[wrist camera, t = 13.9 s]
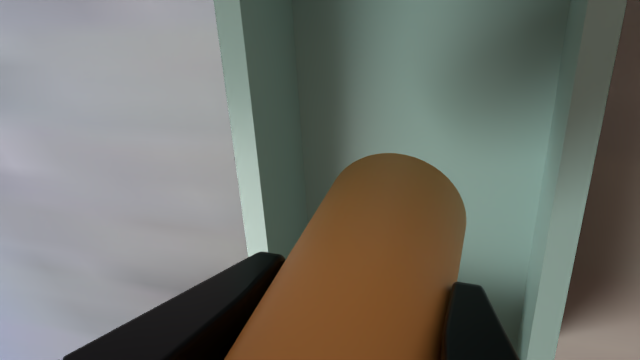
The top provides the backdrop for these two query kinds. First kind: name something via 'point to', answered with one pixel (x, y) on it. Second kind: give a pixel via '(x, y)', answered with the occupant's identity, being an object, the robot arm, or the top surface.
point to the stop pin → (365, 270)
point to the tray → (430, 124)
